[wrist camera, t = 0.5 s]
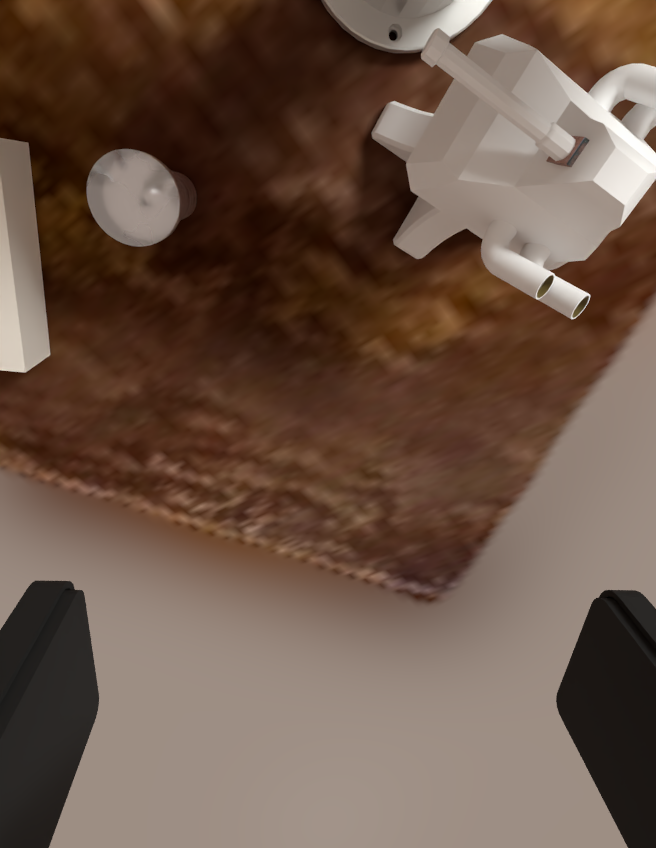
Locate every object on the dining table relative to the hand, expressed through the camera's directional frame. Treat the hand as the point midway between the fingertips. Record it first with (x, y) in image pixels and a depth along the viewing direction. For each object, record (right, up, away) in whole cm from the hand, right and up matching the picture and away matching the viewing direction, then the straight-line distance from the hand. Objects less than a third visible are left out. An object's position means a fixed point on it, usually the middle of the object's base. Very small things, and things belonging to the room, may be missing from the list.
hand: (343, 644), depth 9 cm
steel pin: (-11, +19, +25) cm, 33 cm away
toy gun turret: (+8, +22, +25) cm, 34 cm away
